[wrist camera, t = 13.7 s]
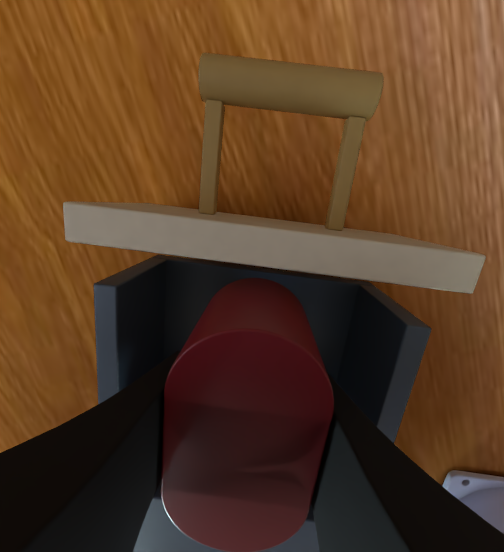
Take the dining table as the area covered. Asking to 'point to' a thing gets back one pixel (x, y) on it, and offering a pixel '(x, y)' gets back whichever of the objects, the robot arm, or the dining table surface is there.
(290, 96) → the drawer
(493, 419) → the dining table surface
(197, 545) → the cabinet
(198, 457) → the red capsule case
